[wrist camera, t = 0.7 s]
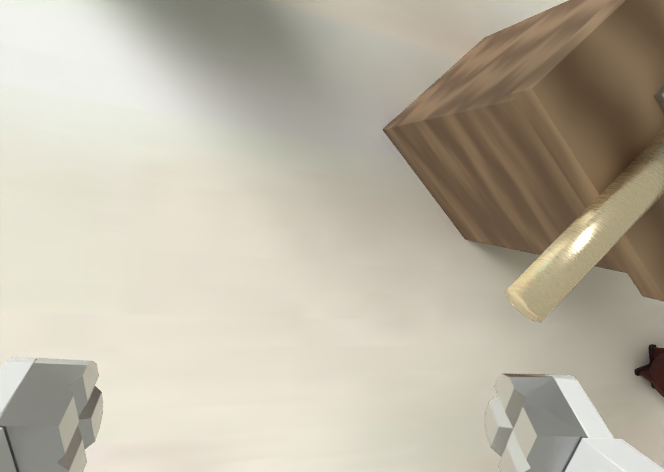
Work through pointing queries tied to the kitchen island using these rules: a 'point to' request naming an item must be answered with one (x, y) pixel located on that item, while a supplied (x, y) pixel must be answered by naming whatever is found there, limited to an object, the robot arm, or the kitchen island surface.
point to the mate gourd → (654, 368)
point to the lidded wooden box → (546, 129)
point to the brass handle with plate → (591, 233)
